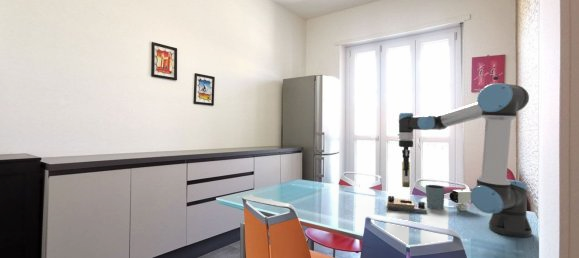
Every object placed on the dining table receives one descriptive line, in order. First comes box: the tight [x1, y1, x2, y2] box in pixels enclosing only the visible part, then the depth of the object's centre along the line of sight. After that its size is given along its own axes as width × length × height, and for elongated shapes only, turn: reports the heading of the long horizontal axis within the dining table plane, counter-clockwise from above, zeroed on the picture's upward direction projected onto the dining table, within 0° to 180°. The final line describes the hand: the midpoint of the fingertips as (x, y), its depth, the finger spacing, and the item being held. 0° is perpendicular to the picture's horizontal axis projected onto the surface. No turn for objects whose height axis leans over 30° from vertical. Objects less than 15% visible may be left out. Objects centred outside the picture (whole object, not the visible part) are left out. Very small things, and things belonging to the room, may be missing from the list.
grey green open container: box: [425, 184, 446, 210], centre depth 163 cm, size 10×10×12 cm
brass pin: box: [401, 161, 411, 188], centre depth 160 cm, size 4×4×14 cm
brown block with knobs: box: [386, 195, 428, 215], centre depth 160 cm, size 12×20×6 cm, turn 70°
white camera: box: [449, 188, 473, 212], centre depth 157 cm, size 6×12×12 cm, turn 94°
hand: (405, 180), depth 160 cm, fingers closed on brass pin, 4 cm apart
